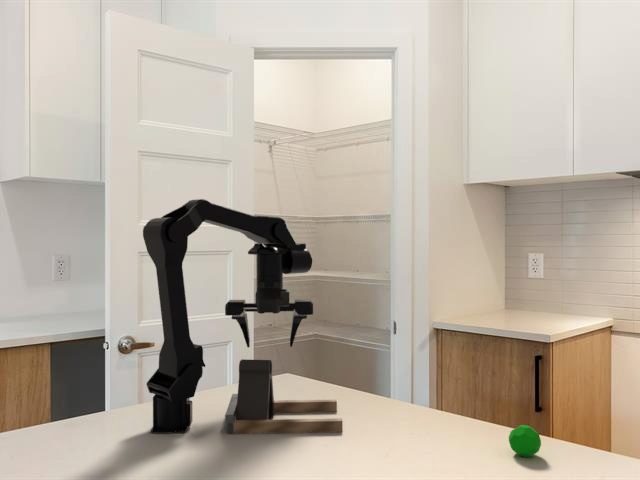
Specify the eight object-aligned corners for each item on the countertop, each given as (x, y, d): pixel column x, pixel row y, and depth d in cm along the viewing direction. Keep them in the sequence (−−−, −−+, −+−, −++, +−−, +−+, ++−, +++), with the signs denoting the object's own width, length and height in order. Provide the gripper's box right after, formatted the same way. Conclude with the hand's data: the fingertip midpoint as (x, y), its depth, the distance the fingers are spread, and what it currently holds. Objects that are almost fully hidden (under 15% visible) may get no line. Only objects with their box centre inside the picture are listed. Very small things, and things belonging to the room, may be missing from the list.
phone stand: (245, 414, 118) (245, 355, 118) (275, 415, 118) (274, 355, 118) (234, 428, 109) (234, 365, 109) (266, 429, 109) (266, 365, 109)
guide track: (228, 433, 106) (227, 423, 106) (235, 410, 120) (235, 401, 120) (342, 431, 108) (342, 420, 108) (336, 409, 122) (336, 399, 122)
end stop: (225, 434, 106) (225, 414, 106) (232, 410, 120) (232, 393, 120) (233, 433, 107) (233, 414, 107) (239, 410, 121) (239, 393, 120)
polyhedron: (547, 457, 95) (547, 428, 95) (527, 463, 93) (527, 433, 93) (522, 447, 100) (522, 419, 100) (502, 453, 97) (502, 424, 97)
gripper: (222, 278, 118) (222, 355, 118) (314, 277, 119) (314, 354, 119) (227, 274, 129) (228, 344, 129) (311, 274, 130) (312, 343, 130)
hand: (269, 346), depth 127 cm, fingers open, 9 cm apart
